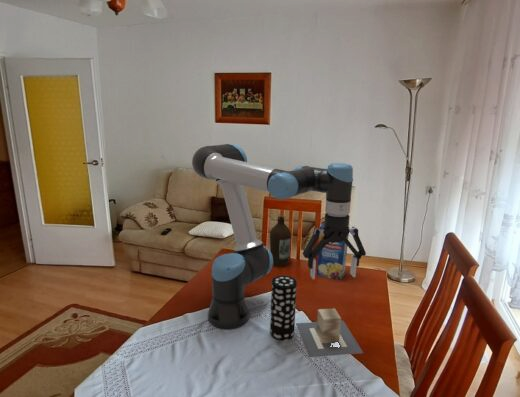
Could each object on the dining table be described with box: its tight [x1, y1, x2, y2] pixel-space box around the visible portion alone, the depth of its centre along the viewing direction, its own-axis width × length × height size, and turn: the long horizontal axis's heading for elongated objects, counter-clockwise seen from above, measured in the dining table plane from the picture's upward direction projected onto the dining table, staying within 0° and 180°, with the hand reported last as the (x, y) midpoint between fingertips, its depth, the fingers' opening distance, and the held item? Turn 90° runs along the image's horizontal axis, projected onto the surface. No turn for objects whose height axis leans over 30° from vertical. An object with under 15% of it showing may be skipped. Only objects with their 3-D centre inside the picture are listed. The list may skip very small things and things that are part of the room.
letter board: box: [295, 319, 364, 358], centre depth 118 cm, size 18×18×1 cm
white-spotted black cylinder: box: [269, 275, 298, 342], centre depth 118 cm, size 8×8×20 cm
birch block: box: [316, 308, 342, 343], centre depth 117 cm, size 6×6×9 cm
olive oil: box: [269, 215, 292, 268], centre depth 173 cm, size 11×11×25 cm
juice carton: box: [316, 222, 350, 282], centre depth 162 cm, size 12×8×24 cm, turn 64°
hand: (332, 276), depth 113 cm, fingers open, 13 cm apart
